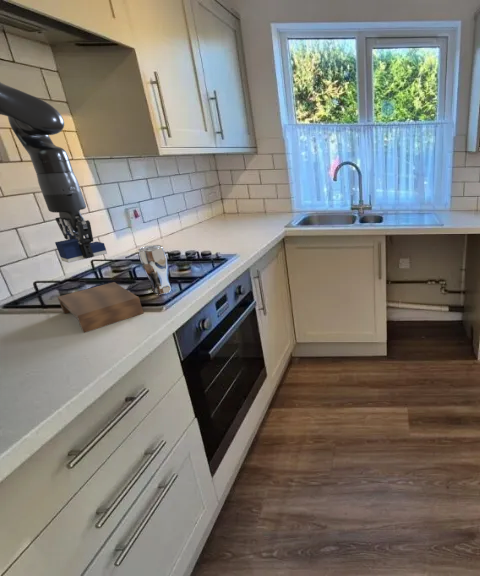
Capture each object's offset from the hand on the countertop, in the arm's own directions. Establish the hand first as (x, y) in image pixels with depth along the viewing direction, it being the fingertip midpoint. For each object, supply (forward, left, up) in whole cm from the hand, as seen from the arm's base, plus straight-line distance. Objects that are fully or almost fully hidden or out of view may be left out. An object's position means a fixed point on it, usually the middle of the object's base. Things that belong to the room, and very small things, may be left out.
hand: (84, 256), depth 97 cm
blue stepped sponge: (0, 0, 0) cm, 0 cm away
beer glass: (+17, +3, -17) cm, 24 cm away
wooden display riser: (0, +1, -17) cm, 17 cm away
